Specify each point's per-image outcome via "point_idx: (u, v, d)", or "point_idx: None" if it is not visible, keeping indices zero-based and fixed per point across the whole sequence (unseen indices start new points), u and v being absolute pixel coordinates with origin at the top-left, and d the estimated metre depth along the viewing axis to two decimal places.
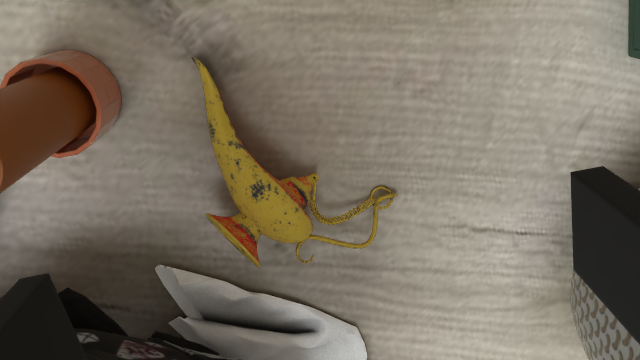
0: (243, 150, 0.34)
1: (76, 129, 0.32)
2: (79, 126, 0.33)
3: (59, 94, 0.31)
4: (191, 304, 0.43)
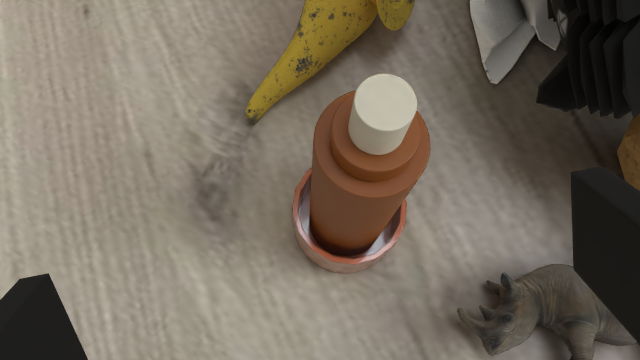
0: (301, 19, 0.33)
1: None
2: None
3: None
4: (517, 34, 0.37)
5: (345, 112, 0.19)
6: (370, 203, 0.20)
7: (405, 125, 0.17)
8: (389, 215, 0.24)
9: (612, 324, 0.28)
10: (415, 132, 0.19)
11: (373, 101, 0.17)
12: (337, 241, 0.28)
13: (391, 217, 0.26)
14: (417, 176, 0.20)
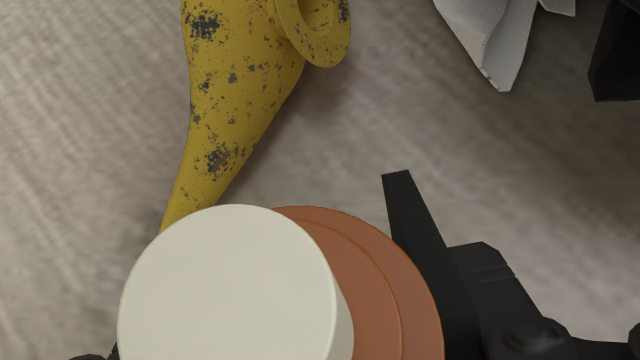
0: (191, 97, 0.21)
1: None
2: None
3: None
4: (513, 13, 0.25)
5: None
6: None
7: None
8: None
9: None
10: (382, 312, 0.07)
11: (182, 324, 0.05)
12: None
13: None
14: None
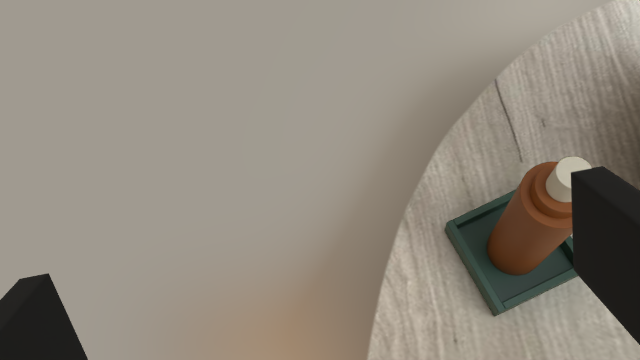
0: None
1: None
2: None
3: (497, 228, 0.40)
4: None
5: (540, 183, 0.32)
6: (570, 230, 0.33)
7: None
8: None
9: None
10: None
11: (568, 174, 0.30)
12: (526, 264, 0.40)
13: None
14: None
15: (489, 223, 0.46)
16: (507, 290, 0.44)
